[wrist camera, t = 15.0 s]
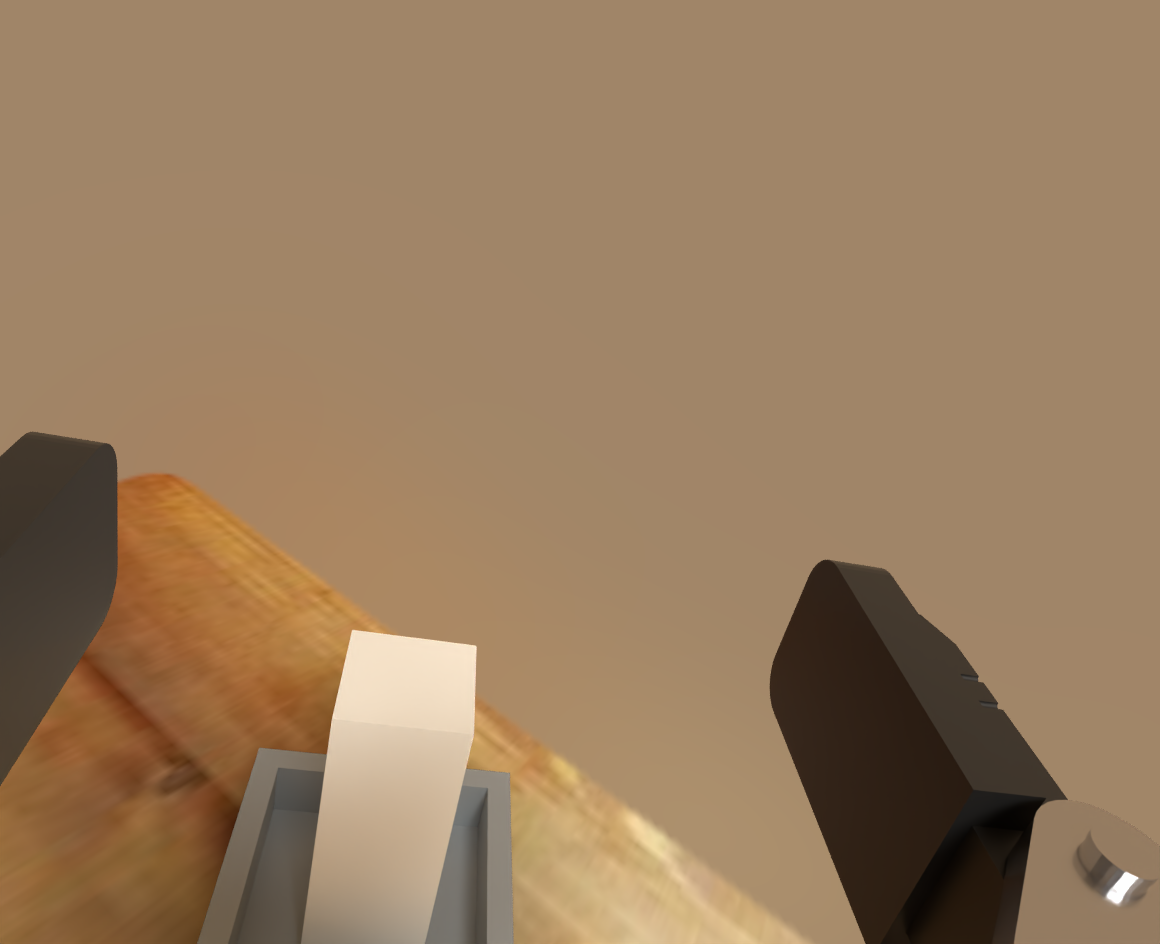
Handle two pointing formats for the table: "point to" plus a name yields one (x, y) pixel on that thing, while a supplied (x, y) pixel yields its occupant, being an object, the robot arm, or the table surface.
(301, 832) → the tray
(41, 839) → the table surface
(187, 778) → the table surface
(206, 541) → the table surface
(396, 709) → the cream block
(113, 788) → the table surface
